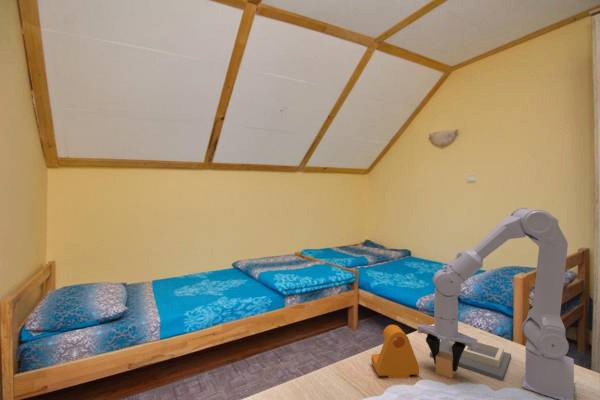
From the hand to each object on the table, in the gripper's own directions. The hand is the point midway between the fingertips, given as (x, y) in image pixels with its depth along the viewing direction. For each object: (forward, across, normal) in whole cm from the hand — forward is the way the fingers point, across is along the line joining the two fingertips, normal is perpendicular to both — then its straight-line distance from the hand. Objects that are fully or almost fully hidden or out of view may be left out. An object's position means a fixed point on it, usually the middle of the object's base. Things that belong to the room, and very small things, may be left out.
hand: (445, 366), depth 82 cm
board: (+2, +3, +13) cm, 13 cm away
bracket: (+2, -11, -8) cm, 14 cm away
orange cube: (+2, 0, 0) cm, 2 cm away
